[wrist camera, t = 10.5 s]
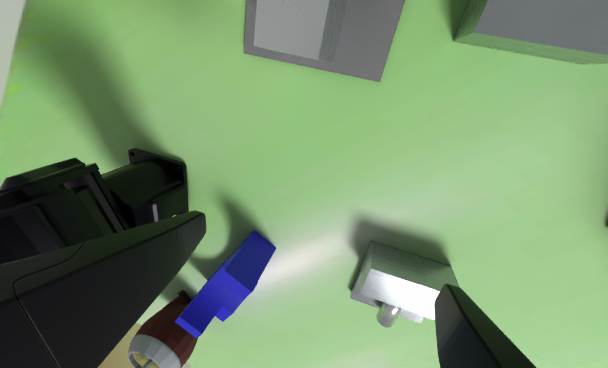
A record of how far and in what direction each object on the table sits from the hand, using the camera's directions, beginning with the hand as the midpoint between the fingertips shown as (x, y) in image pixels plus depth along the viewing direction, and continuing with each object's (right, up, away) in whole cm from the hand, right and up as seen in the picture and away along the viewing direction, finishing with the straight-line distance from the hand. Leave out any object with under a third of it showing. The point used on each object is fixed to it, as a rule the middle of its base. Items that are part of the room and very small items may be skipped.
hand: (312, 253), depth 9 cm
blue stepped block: (-7, -7, +20) cm, 22 cm away
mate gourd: (-16, -15, +25) cm, 34 cm away
